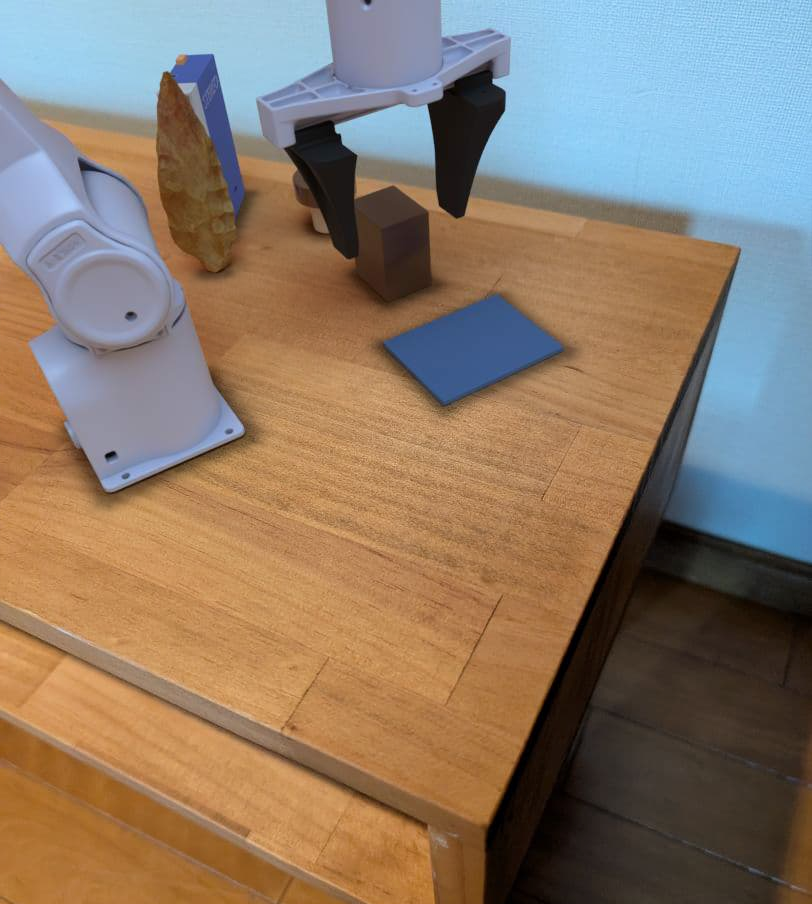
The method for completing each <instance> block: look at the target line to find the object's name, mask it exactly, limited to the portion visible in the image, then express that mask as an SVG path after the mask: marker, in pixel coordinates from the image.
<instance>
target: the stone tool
mask: <svg viewBox="0 0 812 904" xmlns="http://www.w3.org/2000/svg"><path fill="white" fill-rule="evenodd" d="M161 74H162V75H161V79H160V82H159V89H160V91H159V90H158V91H159V96H158V97H157V103H156V122H157V123H156V127H157V129H156V139H155V140H156V142H155V144H156V145H155V152H156V156H157V171H156V172H157V183H158V192H159V198H160V202H161V204H162V208H163V211H164V213H165V215H166V217H167V225H168V229H169V233H170V237H171V239H172V241H173V243H174V244H175V245H176V246H177V247H178V249H180V251H181V252H183V253H185V254H186V255H189V256H192V257H194V258H196V259H197V260H198V261H199V262H200V263H201V265H202V266H203V267H204V268H205V269H206V270H208V271H210V272H212V273H214V274H215V273H218V272H219V271H221V270H222V269H224V268H226V267H227V266H229V263H231V258H232V247H233V244H234V242H235V241H237V227H236V224H235V221H236V219H235V220H234V215H235V214H234V209H233V204H232V202H231V200H230V198H229V192H228V185H227V183H226V181H225V179H224V177H223V172H222V167H221V164H220V161H219V160H218V157H217V154H216V149H215V147H214V143H213V141H212V140H211V138H210V137H209V136H208V135H207V133H206V130H205V128H204V126H203V124H202V123H201V121H200V120H199V118H198V116H197V115H196V114H195V112H194V109H193V107H192V106H191V103H190V101H189V100H188V99H187V97H186V95H185V94H184V93H183V91H182V89H181V88H180V87H179V86H178V83H177V82H176V81H175V80H174V78H173V77H172V75H171V74H170V71H168V70H166V71H163V72H162V73H161Z"/></svg>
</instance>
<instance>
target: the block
mask: <svg viewBox="0 0 812 904" xmlns="http://www.w3.org/2000/svg"><path fill="white" fill-rule="evenodd" d="M354 207H355V216H356V223H357V231H358V238H359V256H358V257H356V258H354V264H355V272H356V275H357V276H358V277H360V278H361V279H362V280H363V281H364V282H365V283H366V284H367V285H368V286H369V287H371V288H372V289H373V290H374V291H375V292H376V293H377V294H378V295H379V296H380V297H382V299H384V300H385V302H387V303H390V302H393V301H396V300H398V299H400V298H402V297H406V296H407V295H410V294H413V293H415V292H417V291H421V290H422V289H424V288H427V287H430V286H432V257H431V237H430V236H431V234H430V233H431V232H430V214H429V210H428V209H426V208H425V207H424V206H422V205H421V204H419V203H418V202H417V201H415V200H414V199H413V198H411V197H410V196H409V195H408V194H406V193H404V192H403V191H402V190H401V189H399V188H398V187H396V186H395V185H393V184H392V185H390V186H387V187H384V188H382V189H379V190H376V191H372V192H370V193H367V194H364V195H362V196H359V197H356V198H354Z"/></svg>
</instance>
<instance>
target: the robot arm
mask: <svg viewBox="0 0 812 904" xmlns="http://www.w3.org/2000/svg"><path fill="white" fill-rule="evenodd" d="M325 7H326V16H327V25H328V32H329V40H330V49H331V57H332V62H330V63H329V64H327V65H324V66H323V67H321V68H319V69H316V70H315V71H312V72H311V73H309V74H307V75H305V76H303V77H301V78H300V79H298V80H295V81H294V82H292V83H290V84H288V85H286V86H284V87H282V88H279V89H277V90H275V91H272V92H269V93H267V94H263V95H260V96H258V97H256V98H255V102H256V108H257V112H258V117H259V123H260V128H261V132H262V133H261V134H262V137H263V138H265V139H266V140H267V141H268V142H269V143H270V144H271V145H273V146H275V148H276V149H279V150H284V152H285V154H287V155H288V157H289V159H290V160H291V161H292V164H293V165H294V166H295V167H296V170H298V171H299V172H300V174H301V175H302V177H303V179H304V180H305V182H306V184H307V186H308V187H309V189H310V191H311V193H312V195H313V197H314V199H315V201H316V203H317V205H318V207H319V209H320V211H321V213H322V216H323V218H324V221H325V223H326V226H327V228H328V231H329V234H328V235H329V237H330V240H331V243H332V246H333V248H334V249H335V250H336V251H337V252H339V253H340V254H341V255H342V256H343V257H344V258H345V259H346V260H349V261H350V260H352V259H355V258H356V257H358V256H359V238H358V231H357V223H356V216H355V207H354V199H355V196H354V184H355V176H356V169H357V162H358V154H356V153H355V152H353V150H351V149H350V148H348V147H347V146H346V145H345V144H343V140H342V139H343V138H342V134H341V132H340V133H338V132H336V126H337V125H340V124H343V123H346V122H350V121H352V120H356V119H359V118H362V117H365V116H369V115H372V114H374V113H377V112H380V111H383V110H386V109H389V108H393V107H396V106H400V105H405V106H407V107H409V108H420V107H422V106H427V111H428V115H429V116H428V117H429V121H430V127H431V132H432V133H431V135H432V140H433V141H432V142H433V149H434V170H435V171H434V173H435V192H436V198H437V203H438V207H439V208H440V209H442V210H443V211H445V212H446V213H447V214H448V215H450V216H451V217H452V218H454V219H456V220H457V219H460V218H463V217H465V215H466V212H467V207H468V203H469V200H470V196H471V191H472V188H473V183H474V181H475V177H476V174H477V170H478V167H479V164H480V161H481V158H482V156H483V153H484V150H485V148H486V146H487V144H488V142H489V140H490V138H491V136H492V133H493V132H494V130H495V128H496V126H497V124H498V123H499V121H500V120H501V118H502V116H503V115H504V113H505V112H506V103H507V91H506V90H505V89H503V88H502V87H500V86H498V85H496V84H494V81H493V80H497V79H502V78H504V77H507V76H510V71H511V47H512V44H511V42H512V37H511V36H510V35H507V34H505V33H503V32H501V31H499V30H498V29H497V30H496V29H495V28H492V27H487V28H483V29H479V30H476V31H470V32H465V33H459V34H453V35H445V36H443V32H442V31H443V29H442V28H443V27H442V0H325ZM0 245H1V247H2V248H3V250H4V252H5V253H6V254H7V256H8V257H9V259H10V260H11V262H12V263H13V264H14V265H15V266H16V267H17V268H19V269H20V270H21V271H22V272H23V273H24V274H25V275H26V276H27V277H29V278H30V279H31V281H33V282H34V284H35V285H36V286H37V288H38V289H39V291H40V293H41V294H42V296H43V300H44V302H45V305H46V307H47V309H48V311H49V314H50V315H51V318H52V319H53V321H54V322H55V324H54V325H52V326H51V327H50V328H49V329H47V330H46V331H44V332H43V333H41V334H39V335H38V336H35V337H33V338H32V339H31V340H29V341H28V342H27V344H28V346H29V348H30V350H31V352H32V354H33V356H34V358H35V360H36V362H37V364H38V366H39V368H40V370H41V372H42V374H43V375H44V377H45V378H44V379H46V382H47V383H48V385H49V387H50V390H51V391H52V393H53V395H54V397H55V399H56V401H57V403H58V405H59V406H60V408H61V410H62V412H63V415H65V418H66V421H64V422H63V425H64V427H65V429H66V431H67V433H68V435H69V437H70V439H71V441H72V443H73V445H74V447H75V449H76V450H79V449H82V450H83V452H84V454H85V455H86V458H87V459H88V461H89V463H90V464H91V467H92V469H93V471H94V473H95V474H96V476H97V478H98V480H99V482H100V484H101V486H102V488H103V490H104V491H105V492H107V493H113V492H114V493H115V492H117V491H120V490H121V489H124V488H125V487H129V486H131V485H133V484H135V483H137V482H140V481H142V480H145V479H146V478H149V477H152V476H153V475H156V474H158V473H160V472H163V471H165V470H167V469H169V468H172V467H174V466H176V465H179V464H181V463H183V462H185V461H188V460H190V459H192V458H195V457H197V456H199V455H202V454H204V453H206V452H208V451H211V450H213V449H215V448H218V447H220V446H223V445H225V444H227V443H229V442H231V441H233V440H236V439H238V438H241V437H242V436H244V434H245V433H246V430H245V426H244V425H243V423H242V422H241V421H240V419H239V418H238V416H237V415H236V414H235V412H234V411H233V410H232V408H231V407H230V405H229V404H228V402H227V401H226V400H225V398H224V397H223V396H222V394H221V392H219V390H218V389H217V387H216V386H215V384H214V382H213V378H212V376H211V373H210V369H209V366H208V363H207V361H206V357H205V354H204V351H203V349H202V348H203V347H202V345H201V342H200V338H199V335H198V331H197V329H196V326H195V323H194V319H193V317H192V313H191V311H190V308H189V305H188V301H187V298H186V296H185V295H186V294H185V292H184V289H183V286H182V285H181V283H180V282H179V280H177V279H176V278H175V277H173V276H172V274H171V272H170V270H169V268H168V267H167V265H166V263H165V261H164V259H163V258H162V255H161V253H160V251H159V250H160V249H159V246H158V244H157V242H156V239H155V236H154V234H153V231H152V229H151V225H150V219H149V212H148V208H147V205H146V203H145V200H144V198H143V196H142V195H141V193H140V192H139V190H138V189H137V188H136V187H135V185H134V184H133V183H132V182H131V181H130V180H129V179H127V178H126V177H125V175H122V174H121V173H119V172H118V171H116V170H114V169H112V168H110V167H107V166H105V165H103V164H101V163H98V162H96V161H94V160H93V159H90V158H89V157H88V156H87V155H85V154H84V153H83V152H82V151H81V150H80V149H79V148H78V147H77V146H76V145H75V144H74V143H73V142H72V141H71V139H69V137H68V136H67V135H65V134H64V133H63V132H62V131H59V130H58V129H57V128H55V127H53V126H51V125H49V124H48V123H45V122H44V121H42V120H41V119H40V118H38V117H37V116H36V114H35V113H33V112H32V111H31V109H29V107H28V106H27V105H26V104H25V103H24V102H23V101H22V100H21V98H19V96H17V95H16V93H15V92H14V91H13V90H12V89H11V88H10V87H9V85H7V84H6V83H5V81H4V80H3V79H2V78H1V77H0Z"/></svg>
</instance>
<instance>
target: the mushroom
mask: <svg viewBox="0 0 812 904" xmlns="http://www.w3.org/2000/svg"><path fill="white" fill-rule="evenodd" d="M291 179H292V185H293V186H292V187H293V192H294V197H295V200H296V202H298V204H300V205H301V206H304V207H306V208H310V212H311V213H310V214H311V219H312V225H313V228H314V230H315V231H316V232H318V233H320V234H328V235H330V234H329V231H328V228H327V226H326V223H325V221H324V218H323V216H322V213H321V211H320V209H319V207H318V205H317V203H316V201H315V199H314V197H313V195H312V193H311V191H310V189H309V187H308V186H307V184H306V182H305V180H304V179H303V177H302V175H301V174H300V172H299V171H298V169H296V170H295V171H294V173H293V174H292V178H291ZM357 193H358V185H357V177H356V175H355V184H354V197H355V196H356V195H357Z"/></svg>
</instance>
